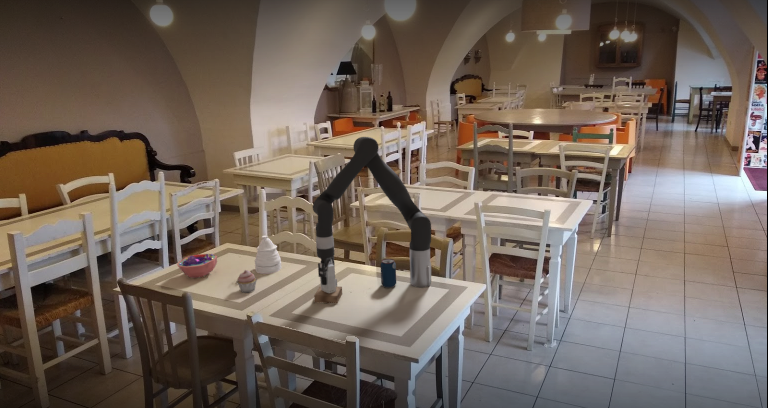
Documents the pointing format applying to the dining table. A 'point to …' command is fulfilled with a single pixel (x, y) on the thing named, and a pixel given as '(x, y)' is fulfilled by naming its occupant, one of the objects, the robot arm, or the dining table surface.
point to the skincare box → (329, 280)
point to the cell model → (198, 265)
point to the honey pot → (267, 257)
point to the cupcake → (246, 281)
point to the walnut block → (328, 296)
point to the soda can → (388, 273)
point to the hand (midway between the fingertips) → (327, 280)
